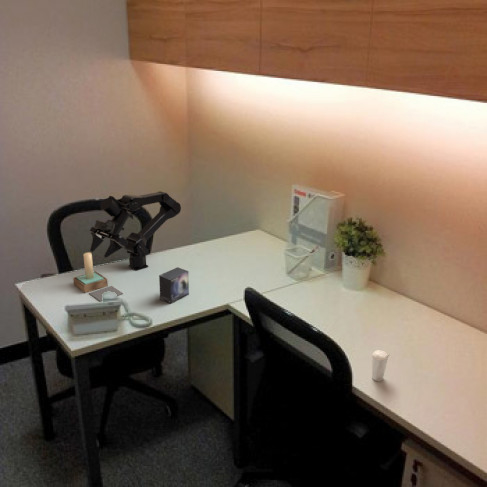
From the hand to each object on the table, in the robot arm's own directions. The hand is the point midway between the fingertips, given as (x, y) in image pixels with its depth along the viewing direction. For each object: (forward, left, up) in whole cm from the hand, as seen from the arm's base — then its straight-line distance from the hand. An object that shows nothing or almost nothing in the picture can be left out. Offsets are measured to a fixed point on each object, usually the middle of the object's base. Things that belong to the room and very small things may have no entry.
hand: (98, 254), depth 222 cm
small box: (-15, +32, -13) cm, 37 cm away
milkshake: (-30, +117, -12) cm, 121 cm away
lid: (+5, +1, -10) cm, 11 cm away
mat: (+4, +12, -12) cm, 17 cm away
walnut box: (+5, +1, -12) cm, 13 cm away
